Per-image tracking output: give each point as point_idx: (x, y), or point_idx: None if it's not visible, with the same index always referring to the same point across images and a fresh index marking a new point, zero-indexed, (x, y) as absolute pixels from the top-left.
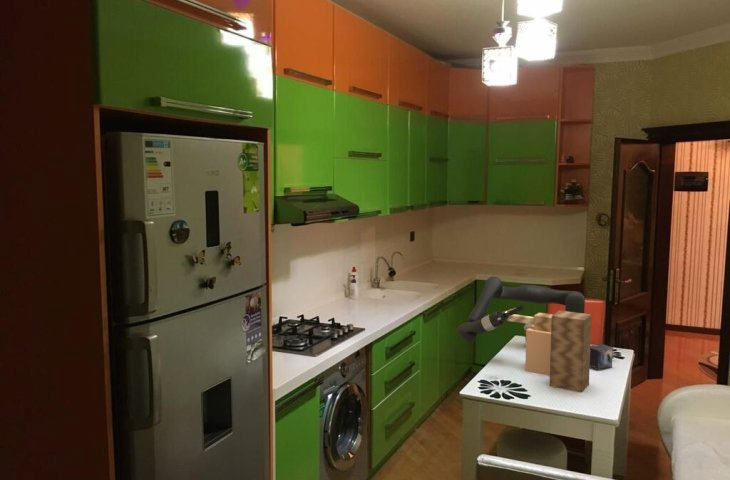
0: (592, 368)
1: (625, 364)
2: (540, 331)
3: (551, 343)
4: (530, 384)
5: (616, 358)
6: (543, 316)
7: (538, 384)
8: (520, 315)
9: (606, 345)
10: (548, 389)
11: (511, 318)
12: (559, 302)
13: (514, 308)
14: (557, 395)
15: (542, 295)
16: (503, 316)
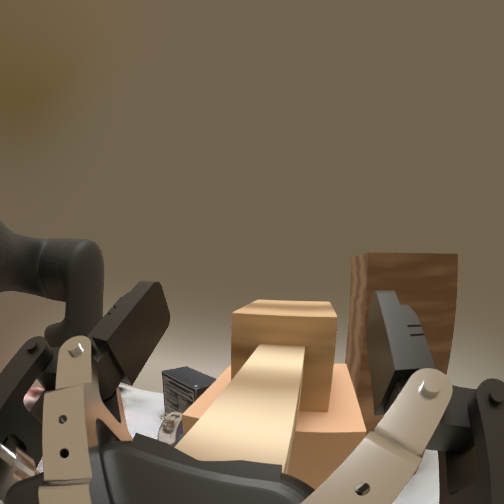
0: None
1: (161, 393)
2: (340, 392)
3: (449, 355)
4: None
5: (122, 394)
6: (326, 308)
7: (426, 491)
8: (238, 394)
9: (174, 369)
10: (437, 466)
11: None
12: (23, 283)
13: (93, 355)
14: None
15: (2, 246)
16: (477, 484)
